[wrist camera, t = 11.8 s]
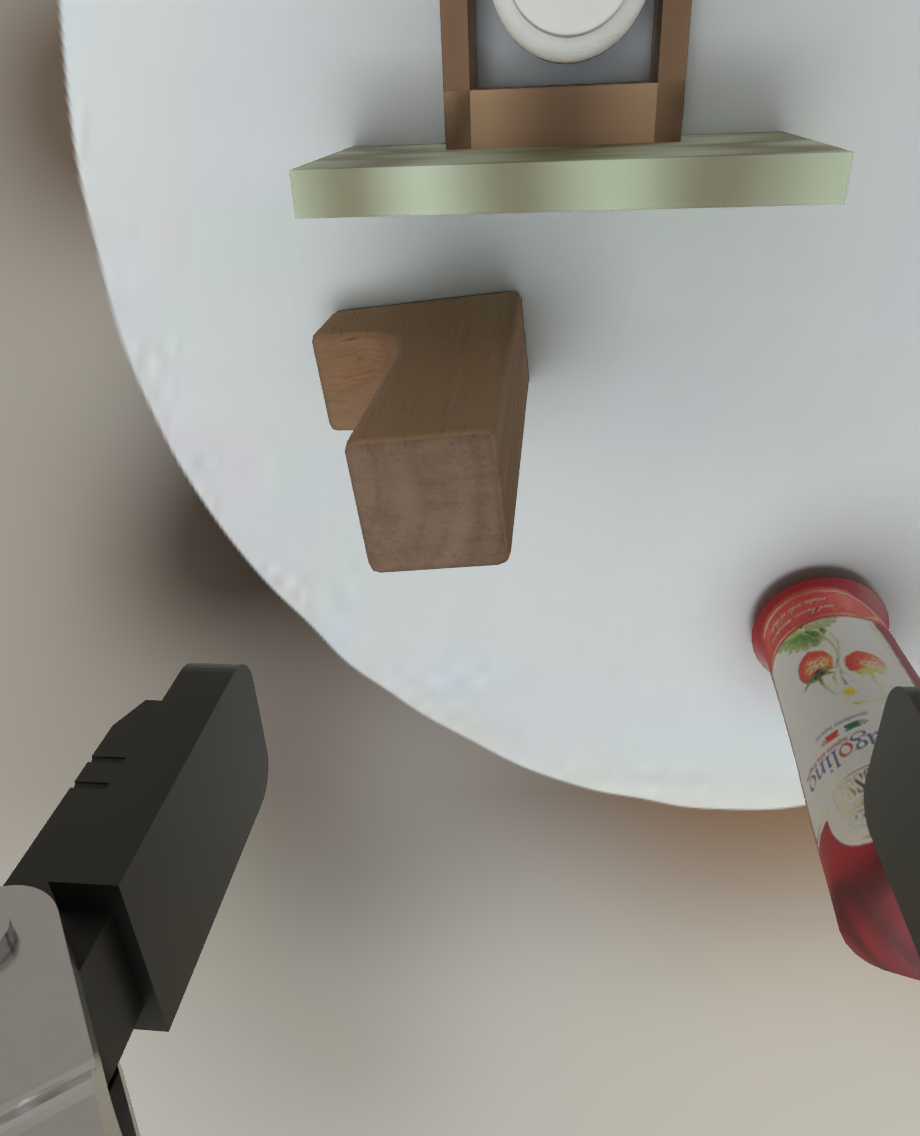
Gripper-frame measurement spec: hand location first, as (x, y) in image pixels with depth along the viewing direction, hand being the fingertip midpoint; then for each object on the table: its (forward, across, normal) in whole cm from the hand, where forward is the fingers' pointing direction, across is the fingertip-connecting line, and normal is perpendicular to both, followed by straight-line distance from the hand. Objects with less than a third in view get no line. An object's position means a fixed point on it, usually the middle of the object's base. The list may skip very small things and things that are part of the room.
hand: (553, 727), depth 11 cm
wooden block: (+32, +6, +4) cm, 33 cm away
